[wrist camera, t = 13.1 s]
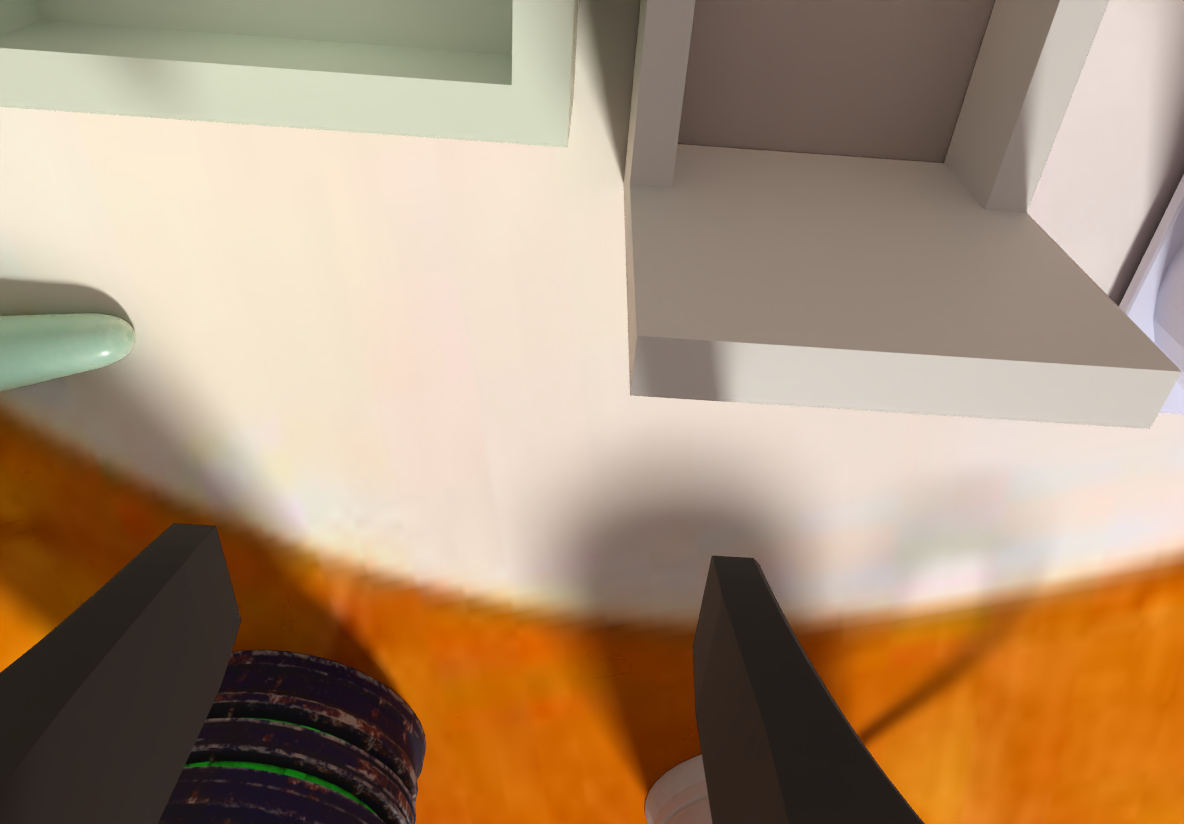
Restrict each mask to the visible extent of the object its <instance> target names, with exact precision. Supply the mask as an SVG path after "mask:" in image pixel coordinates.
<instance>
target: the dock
mask: <svg viewBox="0 0 1184 824" xmlns="http://www.w3.org/2000/svg"><path fill="white" fill-rule="evenodd" d="M695 2H696V0H641V1H640V12H639V23H638V34H637V45H636V56H635V67H634V78H633V89H632V100H631V111H630V122H629V132H628V143H627V154H626V165H625V176H624V213H625V245H626V277H627V308H628V340H629V372H630V395H633V396H648V397H664V398H679V399H695V400H710V401H726V402H741V403H757V404H772V405H788V406H803V407H819V408H834V409H850V410H865V411H881V412H896V413H912V414H927V415H943V416H958V417H974V418H989V419H1005V420H1020V421H1036V422H1051V423H1067V424H1082V425H1098V426H1113V427H1129V428H1144V429H1150V427H1151V425H1152V424H1153V422H1154V420H1155V418H1156V417H1157V415H1158V413H1159V411H1160V410H1161V408H1162V406H1163V404H1164V403H1165V401H1166V399H1167V397H1168V396H1169V394H1170V392H1171V390H1172V389H1173V387H1174V385H1175V383H1176V382H1177V380H1178V378H1179V376H1180V375H1181V373H1182V371H1181V370H1180V369H1179V368H1178V367H1177V366H1176V365H1175V364H1174V363H1173V362H1172V361H1171V360H1170V359H1169V358H1168V357H1167V356H1166V355H1165V354H1164V353H1163V352H1162V351H1161V350H1160V349H1159V348H1158V347H1157V346H1156V345H1155V344H1154V343H1153V342H1152V340H1151V339H1150V338H1149V337H1148V336H1147V335H1146V334H1145V333H1144V332H1143V331H1142V330H1141V329H1140V328H1139V327H1138V326H1137V325H1136V324H1135V323H1134V322H1133V321H1132V320H1131V319H1130V318H1129V317H1128V316H1127V315H1126V314H1125V313H1124V312H1123V311H1122V310H1121V309H1120V308H1119V307H1118V306H1117V305H1116V304H1115V303H1114V302H1113V301H1112V300H1111V299H1110V298H1109V296H1108V295H1107V294H1106V293H1105V292H1104V291H1103V290H1102V289H1101V288H1100V287H1099V286H1098V285H1097V284H1096V283H1095V282H1094V281H1093V280H1092V279H1091V278H1090V277H1089V276H1088V275H1087V274H1086V273H1085V272H1084V271H1083V270H1082V269H1081V268H1080V267H1079V266H1078V265H1077V264H1076V263H1075V262H1074V261H1073V260H1072V259H1071V258H1070V257H1069V256H1068V255H1067V254H1066V253H1065V251H1064V250H1063V249H1062V248H1061V247H1060V246H1059V245H1058V244H1057V243H1056V242H1055V241H1054V240H1053V239H1052V238H1051V237H1050V236H1049V235H1048V234H1047V233H1046V232H1045V231H1044V230H1043V229H1042V228H1041V227H1040V226H1039V225H1038V224H1037V223H1036V222H1035V221H1034V220H1033V219H1032V218H1031V217H1030V216H1029V215H1028V214H1027V210H1028V208H1029V205H1030V202H1031V200H1032V197H1033V195H1034V192H1035V190H1036V187H1037V184H1038V182H1039V179H1040V177H1041V174H1042V172H1043V169H1044V166H1045V164H1046V161H1047V159H1048V156H1049V154H1050V151H1051V148H1052V146H1053V143H1054V141H1055V138H1056V136H1057V133H1058V130H1059V128H1060V125H1061V123H1062V120H1063V118H1064V115H1065V112H1066V110H1067V107H1068V105H1069V102H1070V100H1071V97H1072V94H1073V92H1074V89H1075V87H1076V84H1077V82H1078V79H1079V76H1080V74H1081V71H1082V69H1083V66H1084V64H1085V61H1086V58H1087V56H1088V53H1089V51H1090V48H1091V46H1092V43H1093V40H1094V38H1095V35H1096V33H1097V30H1098V28H1099V25H1100V22H1101V20H1102V17H1103V15H1104V12H1105V10H1106V7H1107V4H1108V2H1109V0H995V4H994V7H993V10H992V13H991V16H990V19H989V22H988V26H987V29H986V32H985V35H984V38H983V41H982V45H981V48H980V51H979V54H978V57H977V60H976V64H975V67H974V70H973V73H972V76H971V79H970V82H969V86H968V89H967V92H966V95H965V98H964V101H963V105H962V108H961V111H960V114H959V117H958V120H957V123H956V127H955V130H954V133H953V136H952V139H951V142H950V146H949V149H948V152H947V155H946V158H945V161H944V163H935V162H921V161H907V160H893V159H879V158H865V157H851V156H837V155H823V154H809V153H795V152H781V151H767V150H754V149H740V148H726V147H712V146H698V145H684V144H678V137H679V129H680V121H681V113H682V105H683V97H684V89H685V81H686V73H687V65H688V57H689V49H690V42H691V34H692V26H693V18H694V10H695Z"/></svg>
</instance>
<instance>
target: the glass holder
mask: <svg viewBox="0 0 1184 824" xmlns="http://www.w3.org/2000/svg"><path fill="white" fill-rule="evenodd" d="M645 816H646V819H647V823H648V824H712V818H711V811H710V805H709V798H708V792H707V785H706V779H705V772H704V766H703V759H702V754H701V755H698V756H696V757H693V758H691V759H689V760H687V761H684V762H682V763H680V764H679V765H677V766H675V767H674V768H672V769H671V770H669V771H667V772H666V773H665V774H664V775H663V776H662V777H661V778H659V779H658V780H657V781H656V783H655V784H654V785H653V787H652V788H651V789H650V791H649V793H648V796H647V798H646V801H645Z"/></svg>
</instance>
